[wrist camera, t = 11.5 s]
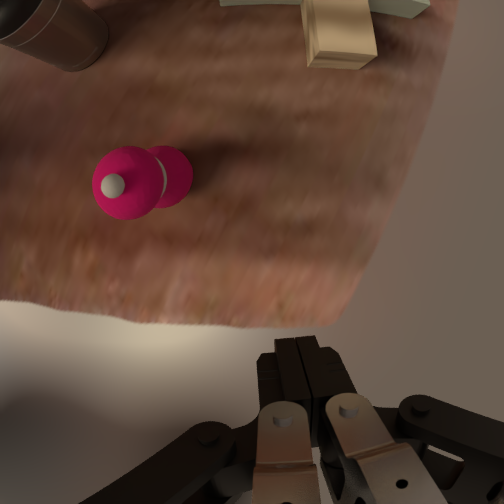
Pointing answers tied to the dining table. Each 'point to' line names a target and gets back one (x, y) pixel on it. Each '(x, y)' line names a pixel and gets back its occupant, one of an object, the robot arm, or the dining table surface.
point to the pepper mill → (141, 180)
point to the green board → (394, 3)
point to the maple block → (338, 33)
